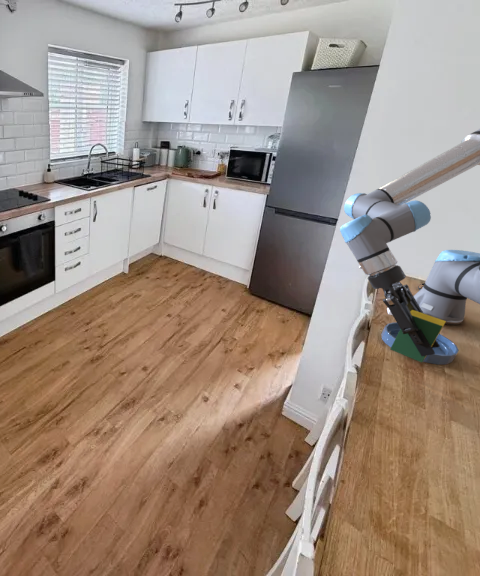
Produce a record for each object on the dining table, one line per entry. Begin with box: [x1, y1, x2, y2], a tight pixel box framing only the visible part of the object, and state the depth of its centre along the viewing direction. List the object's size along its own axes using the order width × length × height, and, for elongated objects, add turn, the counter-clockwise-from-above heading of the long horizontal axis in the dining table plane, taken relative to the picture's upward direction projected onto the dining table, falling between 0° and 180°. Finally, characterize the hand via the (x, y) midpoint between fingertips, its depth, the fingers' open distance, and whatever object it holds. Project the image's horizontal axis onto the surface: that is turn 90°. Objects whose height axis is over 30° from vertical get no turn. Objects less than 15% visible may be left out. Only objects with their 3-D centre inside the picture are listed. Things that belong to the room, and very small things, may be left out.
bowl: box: [381, 321, 459, 365], centre depth 108 cm, size 17×17×4 cm
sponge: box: [390, 310, 446, 363], centre depth 96 cm, size 4×7×11 cm, turn 40°
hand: (430, 350), depth 94 cm, fingers closed on sponge, 4 cm apart
